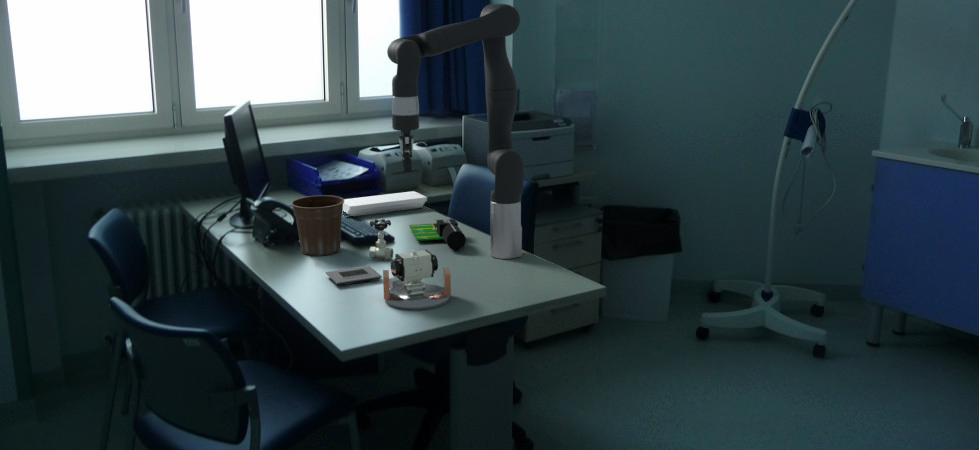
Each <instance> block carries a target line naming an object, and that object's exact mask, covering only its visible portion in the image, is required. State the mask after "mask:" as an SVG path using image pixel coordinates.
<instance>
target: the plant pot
mask: <svg viewBox="0 0 980 450" xmlns="http://www.w3.org/2000/svg"><path fill="white" fill-rule="evenodd" d="M344 199H345V198H343V197H341V196H337V195H326V194H324V195H321V194H320V195H309V196H302V197H299V198H296V199H293V200H292V201H291V202H290V206H291V207H292V209H293V216H294V217H295V221H296V226H297V231H298V232H297V233H298V237H299V244H300V250H301V253H302V254H303V255H310V256H314V257H317V256H318V257H325V256H328V255H330V256H331V255H334V253H338V252H340V250H341V239H342V238H341V236H342V215H343V203H344Z"/></svg>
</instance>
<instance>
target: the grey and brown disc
mask: <svg viewBox="0 0 980 450" xmlns="http://www.w3.org/2000/svg"><path fill="white" fill-rule="evenodd" d="M389 271H390V270H389V269H385V270H384V269H383V270H382V282H383V284H382V285H383V300H384V302H385V304H386V305H387V306H389V307H391V308H393V309H397V310H400V311H401V310H402V311H411V312H412V311H427V310H432V309H437V308H440V307H442V306H445V305H446V304H447V303H448V302H449V301H450V297H451V296H452V291H451V290H452V285H451V284H452V282H451V281H452V280H451V279H452V278H451V276H452V275H451V272H450V271H451V270H450V268H449V267H442V279H443V281H442V282H443V284H442V285H443V286H440V285H437V284H431V283H430V284H429V283H425V286H426V289H425V291H424V293H423V294H421V295H414V296H411V295H410V294H409V293H406V292H405V290H404V285H401V286H397V287H394V288H392V289H390V288H389V279H390V275H389V274H390V272H389Z"/></svg>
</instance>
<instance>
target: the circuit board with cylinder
mask: <svg viewBox="0 0 980 450" xmlns="http://www.w3.org/2000/svg"><path fill="white" fill-rule="evenodd" d="M408 227H409V228H410V230H411V232H412V234H413V236H414V237H415V239H416V242H420V241H421V242H422V241H424V242H425V241H439V242H443V243H444V242H445V243H446V245H447V246H448V248H449V249H451V250H452V251H457V250H461V249H462V248H464V247H465V246H466V245H465V244H466V241H467V238H466V235H465V234H464V233H463V231H462V230H461V228H460V227H459V223H458V222H457V220H456V219H455V218H447V219H446V218H445V219H436V222H434V223H420V224H419V223H418V224H416V223H415V224H409V225H408Z"/></svg>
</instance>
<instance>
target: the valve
mask: <svg viewBox="0 0 980 450" xmlns="http://www.w3.org/2000/svg"><path fill="white" fill-rule="evenodd" d="M369 225H370V228H371V227H373V228H374V229H375V230H376V231H377V232H378V233H377V238H378V239H377V241H375V245H376V246H370V248H369V250H368V251H369V254H368V255H369V258H370V259H372V260H373V259H374V260H379V261H384V260H388V261H392V260H393V258H394V249H393V248H392V247H386V246H387V241H386V240H385V239H384V238H385V234H384V232H383V231H384V230H386V229H387V228H388V226H389V227H390V226H392V222H391V219H385V218H381V219H380V220H379V219H378V218H377V219H374V220H370V221H369Z"/></svg>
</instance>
